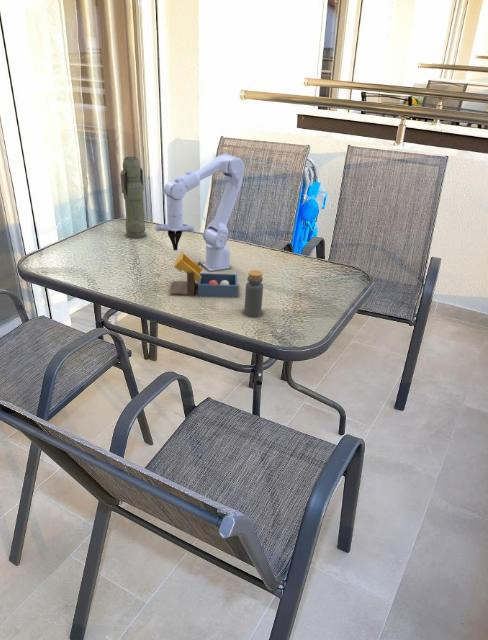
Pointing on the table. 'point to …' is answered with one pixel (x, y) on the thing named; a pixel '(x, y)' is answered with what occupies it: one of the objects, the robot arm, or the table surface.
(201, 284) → the bin
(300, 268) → the table surface
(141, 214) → the stone statue
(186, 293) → the dish stand
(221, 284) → the ball cream
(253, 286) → the bottle
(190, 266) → the yellow tray
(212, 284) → the ball coral
